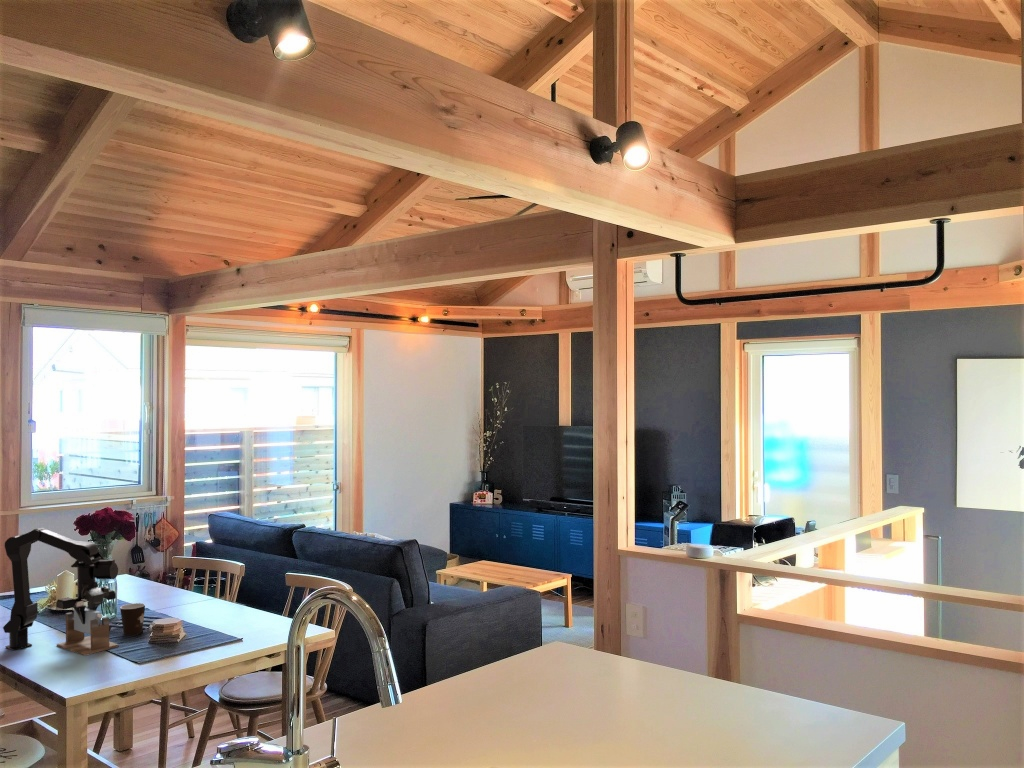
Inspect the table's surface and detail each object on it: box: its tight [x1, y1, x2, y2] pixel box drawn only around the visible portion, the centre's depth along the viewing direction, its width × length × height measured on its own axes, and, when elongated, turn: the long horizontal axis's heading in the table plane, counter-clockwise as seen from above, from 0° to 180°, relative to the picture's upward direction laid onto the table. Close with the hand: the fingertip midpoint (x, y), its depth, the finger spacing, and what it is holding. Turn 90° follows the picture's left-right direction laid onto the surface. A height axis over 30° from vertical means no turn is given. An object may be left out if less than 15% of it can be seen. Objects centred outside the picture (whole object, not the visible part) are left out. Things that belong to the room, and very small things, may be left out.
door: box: [71, 607, 103, 636], centre depth 296 cm, size 19×2×8 cm, turn 54°
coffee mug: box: [119, 602, 146, 636], centre depth 314 cm, size 12×9×10 cm
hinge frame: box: [56, 611, 120, 656], centre depth 296 cm, size 20×12×11 cm, turn 53°
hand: (86, 623), depth 296 cm, fingers closed on door, 2 cm apart
